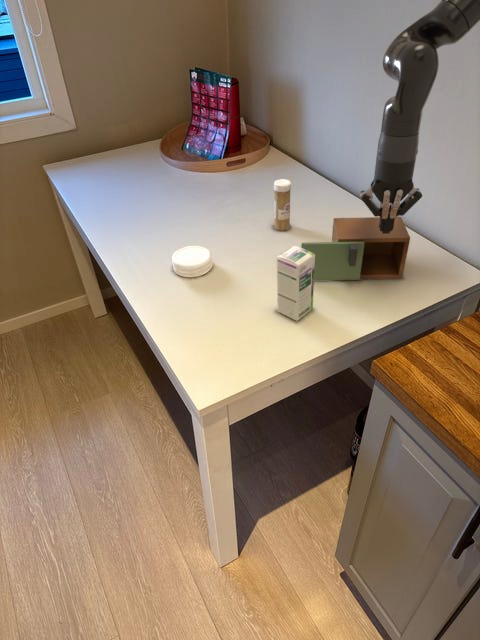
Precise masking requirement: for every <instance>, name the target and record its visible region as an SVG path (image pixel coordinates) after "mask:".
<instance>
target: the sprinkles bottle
mask: <svg viewBox="0 0 480 640" xmlns="http://www.w3.org/2000/svg"><path fill="white" fill-rule="evenodd" d="M273 182H274V183H273V191H274V198H273V199H274V201H273V210H274V211H273V217H274V225H273V227H274V229H275V230H277V231H287V230H289V229H290V228H291V223H290V222H291V190H292V182H291V181H290V180H289V179H284V178H281V179H277V180H275V181H273Z"/></svg>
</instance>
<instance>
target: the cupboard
mask: <svg viewBox="0 0 480 640" xmlns="http://www.w3.org/2000/svg"><path fill="white" fill-rule="evenodd" d="M332 221H333V222H332V232H331V242H364V250H363V258H362V265H361V273H360V280H369V279H371V280H372V279H373V280H374V279H379V280H380V279H403V276H404V271H405V266H406V262H407V258H408V251H409V247H410V242H411V236H410V233H409V232H408V229H407V227H406V225H405V223H404V221H403V218H402V217H401V216H397V217H396V218H395V221H394V227H393V230H392V231H390V233H389V234H383V233H382V231H380V228H379V221H380V217H379V216H378V217H375V216H374V217H372V216H371V217H370V216H369V217H333V220H332Z"/></svg>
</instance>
